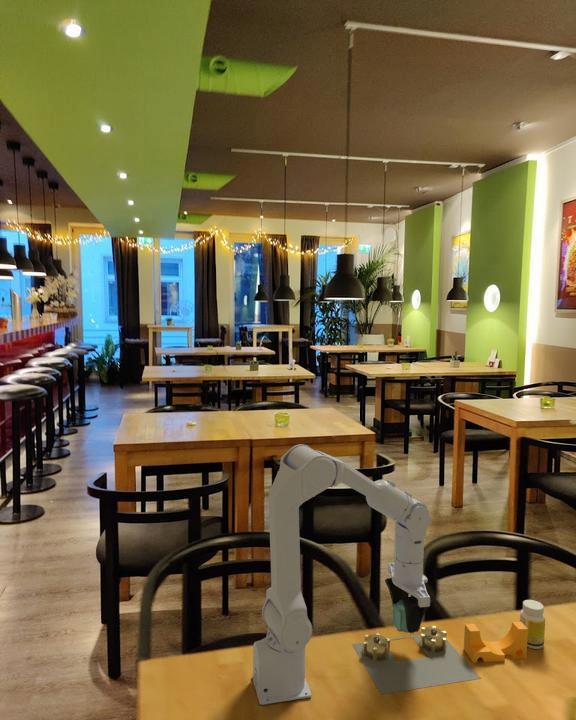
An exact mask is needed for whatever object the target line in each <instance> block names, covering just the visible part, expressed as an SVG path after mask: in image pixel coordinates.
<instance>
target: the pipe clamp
mask: <svg viewBox="0 0 576 720" xmlns="http://www.w3.org/2000/svg"><path fill="white" fill-rule="evenodd" d="M527 637H528V628H527V627H526V626H525V625H524V624H523V623H522V622H520V621H512V622H511V625H510V629H509V631H508V633H507V634H506V635H505V636H504V637H502V638H501V639H498V640H495V641H487V640H484V639H482V637H481V630H480V629H479V628H478V627H477V625H476V624H475V623H465V624H464V638H463V650H464V651H465V653H466V655H468V657H469V659H470V660H471V661H472V663H478V660H479V659H481V660H482V662H483V663H487V662H488V663H489V662H490V663H491V662H505V661H506V660H505V659H506V656H511V657H512V658H513V659H514V660H526V659H527V653H528V651H527V650H528V647H527Z"/></svg>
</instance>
